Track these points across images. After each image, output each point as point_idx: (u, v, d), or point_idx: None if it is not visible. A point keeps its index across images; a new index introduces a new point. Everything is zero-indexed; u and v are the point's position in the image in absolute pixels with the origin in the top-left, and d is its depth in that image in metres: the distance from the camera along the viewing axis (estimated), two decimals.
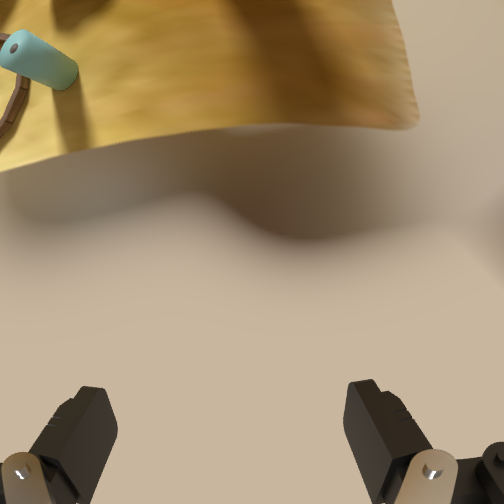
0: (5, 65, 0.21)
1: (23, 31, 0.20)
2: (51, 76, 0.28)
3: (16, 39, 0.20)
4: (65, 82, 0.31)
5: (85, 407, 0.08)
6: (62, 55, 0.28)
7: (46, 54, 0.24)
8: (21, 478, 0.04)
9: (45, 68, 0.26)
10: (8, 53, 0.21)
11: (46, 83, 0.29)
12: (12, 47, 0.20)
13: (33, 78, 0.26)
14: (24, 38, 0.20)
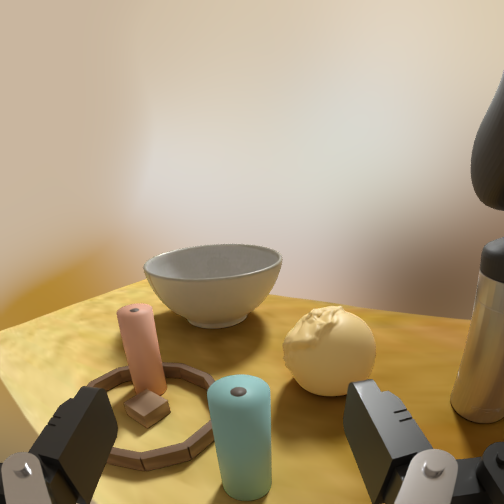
0: (213, 400, 0.21)
1: (263, 383, 0.23)
2: (242, 471, 0.21)
3: (249, 384, 0.23)
4: (246, 492, 0.22)
5: (85, 407, 0.08)
6: (270, 458, 0.23)
7: (264, 439, 0.21)
8: (21, 478, 0.04)
9: (248, 454, 0.21)
10: (227, 390, 0.22)
11: (227, 473, 0.22)
12: (236, 388, 0.22)
13: (222, 453, 0.21)
14: (259, 392, 0.22)
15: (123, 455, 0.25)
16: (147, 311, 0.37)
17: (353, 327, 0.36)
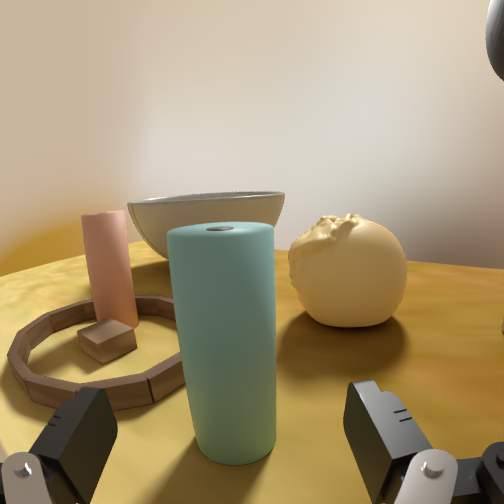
0: (175, 234, 0.13)
1: (261, 224, 0.15)
2: (224, 397, 0.13)
3: (238, 225, 0.15)
4: (232, 447, 0.14)
5: (85, 407, 0.08)
6: (275, 381, 0.15)
7: (264, 323, 0.13)
8: (21, 478, 0.04)
9: (233, 353, 0.13)
10: (201, 228, 0.14)
11: (199, 406, 0.14)
12: (217, 227, 0.14)
13: (188, 355, 0.13)
14: (255, 227, 0.14)
15: (55, 386, 0.17)
16: (117, 211, 0.29)
17: (378, 229, 0.28)
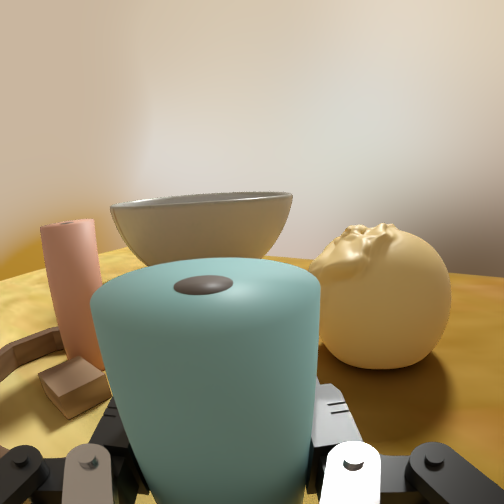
0: (105, 302, 0.05)
1: (289, 268, 0.07)
2: None
3: (243, 271, 0.07)
4: None
5: None
6: None
7: (293, 466, 0.06)
8: (91, 470, 0.05)
9: None
10: (165, 283, 0.07)
11: None
12: (199, 279, 0.07)
13: (158, 499, 0.06)
14: (281, 285, 0.06)
15: None
16: (84, 221, 0.22)
17: (421, 245, 0.21)
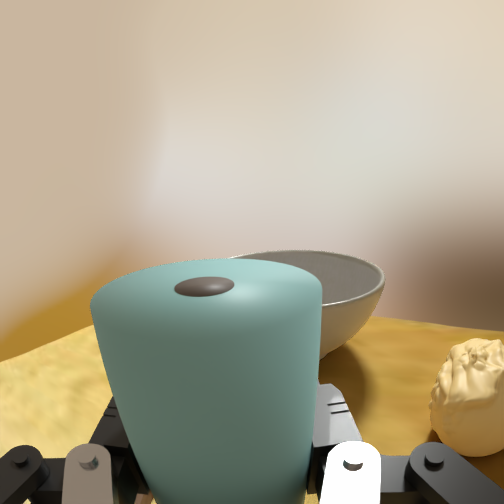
0: (105, 304, 0.05)
1: (290, 269, 0.07)
2: None
3: (244, 272, 0.07)
4: None
5: None
6: None
7: (295, 468, 0.06)
8: (91, 470, 0.05)
9: None
10: (166, 284, 0.06)
11: None
12: (200, 280, 0.07)
13: (159, 501, 0.06)
14: (282, 286, 0.06)
15: None
16: None
17: None
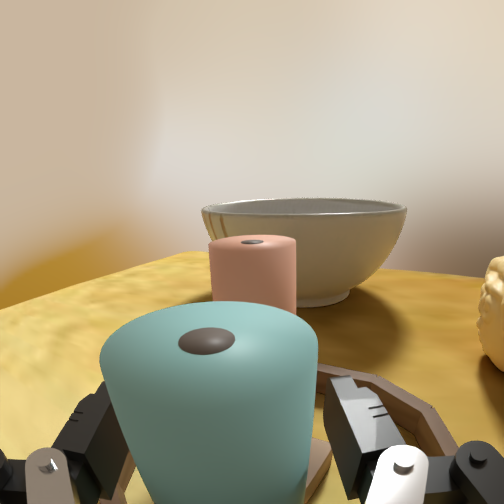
0: (114, 361, 0.06)
1: (289, 318, 0.07)
2: None
3: (244, 322, 0.07)
4: None
5: (108, 401, 0.08)
6: None
7: (292, 497, 0.06)
8: (47, 474, 0.05)
9: None
10: (170, 337, 0.07)
11: None
12: (202, 332, 0.07)
13: None
14: (280, 342, 0.06)
15: None
16: (287, 241, 0.17)
17: None
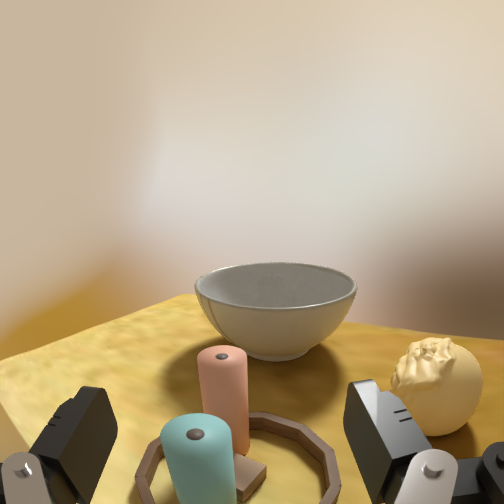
0: (166, 442, 0.17)
1: (224, 426, 0.19)
2: None
3: (208, 426, 0.19)
4: None
5: (85, 407, 0.08)
6: (236, 501, 0.19)
7: (224, 485, 0.17)
8: (21, 478, 0.04)
9: (206, 499, 0.17)
10: (183, 432, 0.18)
11: None
12: (194, 430, 0.18)
13: (179, 494, 0.17)
14: (219, 437, 0.18)
15: None
16: (241, 357, 0.28)
17: (470, 361, 0.27)
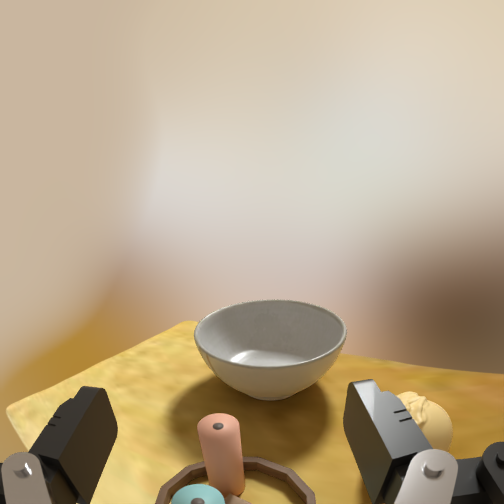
0: None
1: (219, 495, 0.22)
2: None
3: (207, 496, 0.21)
4: None
5: (85, 407, 0.08)
6: None
7: None
8: (21, 478, 0.04)
9: None
10: (188, 501, 0.21)
11: None
12: (196, 499, 0.21)
13: None
14: None
15: None
16: (234, 427, 0.31)
17: (440, 422, 0.30)
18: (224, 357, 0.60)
